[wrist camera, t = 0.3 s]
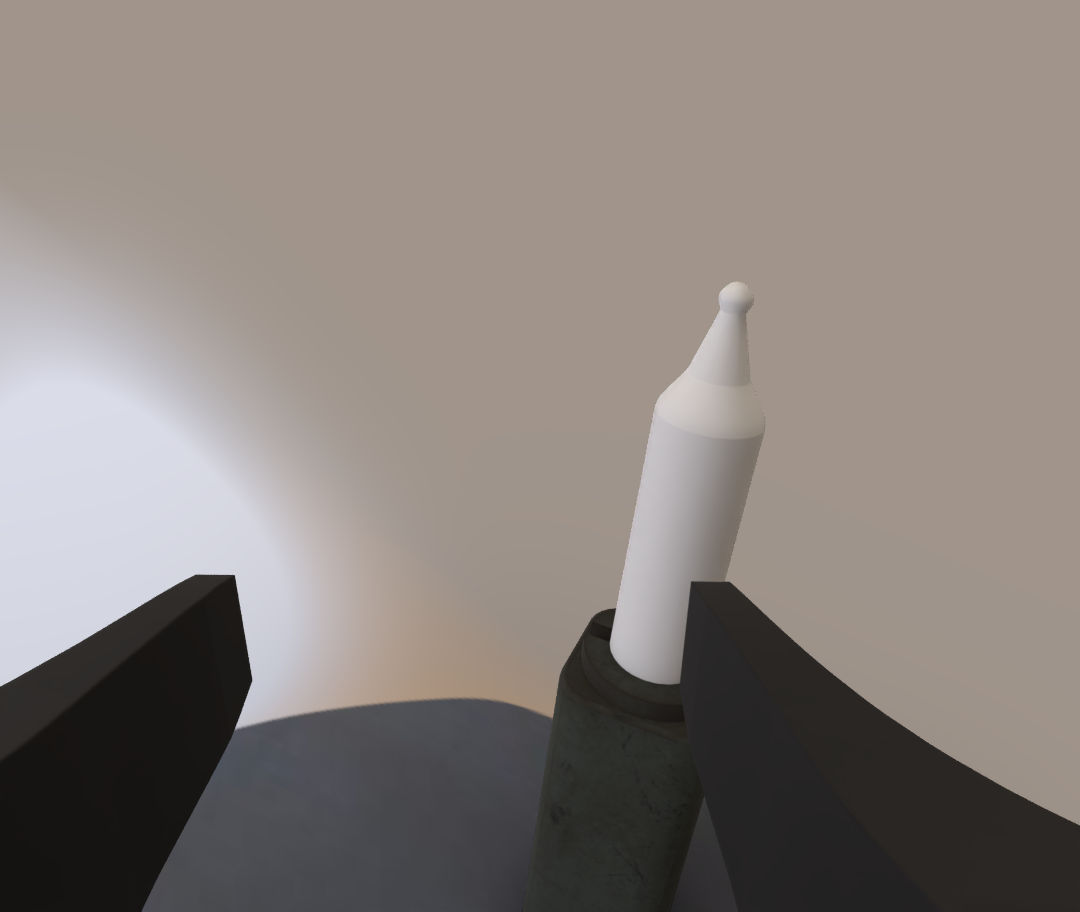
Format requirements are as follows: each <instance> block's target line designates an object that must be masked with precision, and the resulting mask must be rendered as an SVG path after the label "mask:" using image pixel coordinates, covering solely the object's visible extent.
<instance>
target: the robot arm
mask: <svg viewBox="0 0 1080 912" xmlns="http://www.w3.org/2000/svg"><path fill="white" fill-rule="evenodd" d="M251 683H252V675H251V669H250V663H249V657H248V651H247V645H246V639H245V634H244V628H243V621H242V615H241V610H240V604H239V598H238V592H237V587H236V580H235V575H194V576H192V577H190V578H188V579H186V580H184V581H183V582H181V583H179V584H177V585H175V586H173V587H172V588H170V589H168V590H167V591H165V592H163V593H161V594H160V595H158V596H156V597H155V598H153V599H151V600H150V601H148V602H146V603H145V604H143V605H141V606H140V607H138V608H136V609H135V610H133V611H131V612H130V613H128V614H126V615H125V616H123V617H122V618H120V619H118V620H117V621H115V622H113V623H112V624H110V625H108V626H107V627H105V628H103V629H102V630H100V631H98V632H97V633H95V634H93V635H92V636H90V637H88V638H87V639H85V640H83V641H82V642H80V643H78V644H76V645H75V646H73V647H71V648H70V649H68V650H66V651H64V652H62V653H61V654H59V655H57V656H55V657H53V658H51V659H50V660H48V661H46V662H44V663H42V664H41V665H39V666H37V667H35V668H34V669H32V670H30V671H28V672H26V673H24V674H23V675H21V676H19V677H18V678H16V679H14V680H12V681H10V682H8V683H6V684H4V685H3V686H1V687H0V912H141V911H142V909H143V907H144V905H145V903H146V900H147V898H148V896H149V894H150V892H151V890H152V888H153V886H154V884H155V882H156V880H157V878H158V876H159V874H160V872H161V870H162V868H163V866H164V864H165V862H166V861H167V859H168V857H169V855H170V853H171V851H172V849H173V847H174V846H175V844H176V842H177V840H178V838H179V836H180V834H181V832H182V831H183V829H184V827H185V825H186V823H187V821H188V819H189V818H190V816H191V814H192V812H193V810H194V808H195V806H196V804H197V803H198V801H199V799H200V797H201V795H202V793H203V791H204V790H205V788H206V786H207V784H208V782H209V780H210V778H211V776H212V774H213V772H214V771H215V769H216V767H217V765H218V763H219V761H220V759H221V757H222V755H223V753H224V751H225V749H226V747H227V745H228V743H229V741H230V739H231V737H232V735H233V732H234V730H235V727H236V724H237V722H238V719H239V716H240V714H241V711H242V708H243V706H244V702H245V700H246V697H247V694H248V691H249V688H250V685H251ZM679 686H680V692H681V699H682V705H683V711H684V717H685V723H686V729H687V734H688V740H689V745H690V748H691V752H692V755H693V759H694V762H695V765H696V769H697V772H698V776H699V779H700V782H701V786H702V789H703V792H704V796H705V799H706V802H707V805H708V809H709V812H710V815H711V819H712V822H713V825H714V828H715V832H716V835H717V838H718V842H719V845H720V848H721V851H722V855H723V858H724V861H725V865H726V868H727V871H728V874H729V878H730V881H731V885H732V889H733V893H734V897H735V900H736V904H737V908H738V912H1080V825H1078V824H1076V823H1073V822H1071V821H1069V820H1067V819H1065V818H1063V817H1061V816H1059V815H1057V814H1055V813H1053V812H1051V811H1048V810H1047V809H1044V808H1042V807H1041V806H1038V805H1037V804H1035V803H1033V802H1031V801H1029V800H1027V799H1025V798H1023V797H1021V796H1019V795H1018V794H1015V793H1013V792H1012V791H1010V790H1008V789H1006V788H1004V787H1002V786H1001V785H999V784H997V783H995V782H994V781H992V780H990V779H988V778H987V777H985V776H983V775H981V774H980V773H978V772H976V771H974V770H973V769H971V768H969V767H967V766H966V765H964V764H962V763H960V762H959V761H956V760H955V759H953V758H952V757H950V756H948V755H947V754H945V753H944V752H942V751H940V750H939V749H937V748H935V747H934V746H932V745H930V744H929V743H927V742H926V741H924V740H923V739H921V738H920V737H919V736H917V735H916V734H914V733H913V732H911V731H910V730H908V729H907V728H905V727H903V726H902V725H901V724H899V723H897V722H896V721H895V720H893V719H891V718H890V717H889V716H887V715H886V714H884V713H883V712H882V711H880V710H879V709H877V708H876V707H874V706H873V705H872V704H870V703H869V702H868V701H866V700H865V699H864V698H862V697H861V696H860V695H859V694H857V693H856V692H855V691H854V690H852V689H851V688H850V687H848V686H847V685H846V684H845V683H843V682H842V681H841V680H839V679H838V678H837V677H836V676H834V675H833V674H832V673H831V672H829V671H828V670H827V669H826V668H824V667H823V666H822V665H821V664H820V663H818V662H817V661H816V660H815V659H814V658H813V657H812V656H810V655H809V654H808V653H807V652H806V651H804V650H803V649H802V648H801V647H800V646H799V645H798V644H797V643H795V642H794V641H793V640H792V639H791V638H790V637H789V636H788V635H787V634H785V633H784V632H783V631H782V630H781V629H780V628H779V627H778V626H777V625H776V624H775V623H774V622H772V621H771V620H770V619H769V618H768V617H767V616H766V615H765V614H764V613H763V612H762V611H761V610H760V609H758V607H756V606H755V605H754V604H753V603H752V602H751V601H750V600H749V599H748V598H747V597H746V596H745V595H744V594H743V593H742V592H740V591H739V590H738V589H737V588H736V587H735V586H734V585H733V584H732V583H730V582H704V581H691V586H690V595H689V604H688V613H687V622H686V631H685V640H684V649H683V658H682V667H681V676H680V685H679Z"/></svg>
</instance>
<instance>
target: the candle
mask: <svg viewBox="0 0 1080 912" xmlns="http://www.w3.org/2000/svg"><path fill="white" fill-rule="evenodd" d="M753 302H754V298H753V294H752V292H751V291H750V288H749V287H748V286H747V285H746V284H744V283H741V282H733V283H731V284H729V285H728V286H726V287H725V288H724V289H723V290H722V291H721V292H720V294H719V304H720V309H721V310H720V312H719V313H718V316H717V317H716V319H715V321H714V322H713V324H712V326H711V328H710V330H709V332H708V333H707V335H706V337H705V339H704V341H703V342H702V344H701V346H700V348H699V350H698V351H697V353H696V355H695V357H694V359H693V360H692V362H691V364H690V366H689V368H688V369H687V370H686V371H685V372H684V373H683V374H682V375H681V376H680V377H679V378H678V379H677V380H675V381H674V382H673V383H672V384H671V385H670V386H669V387H668V388H667V389H666V390H665V391H664V392H663V393H662V394H661V395H660V397H659V399H658V401H657V403H656V406H655V409H654V415H653V420H652V425H651V430H650V435H649V441H648V446H647V451H646V456H645V461H644V467H643V473H642V477H641V482H640V488H639V493H638V498H637V503H636V508H635V514H634V519H633V524H632V530H631V535H630V540H629V545H628V550H627V555H626V561H625V566H624V572H623V576H622V582H621V587H620V592H619V598H618V603H617V608H615V609H608V610H604V611H601V612H599V613H597V614H596V615H595V616H594V617H593V618H592V619H591V620H590V622H589V624H588V626H587V627H586V629H585V631H584V632H583V634H582V636H581V637H580V639H579V641H578V643H577V644H576V646H575V648H574V649H573V651H572V653H571V655H570V656H569V658H568V660H567V662H566V663H565V665H564V667H563V668H562V671H561V674H560V678H559V684H558V690H557V696H556V703H555V709H554V716H553V722H552V728H551V735H550V741H549V747H548V754H547V760H546V766H545V773H544V779H543V785H542V792H541V798H540V804H539V811H538V817H537V823H536V830H535V836H534V842H533V849H532V855H531V862H530V868H529V874H528V881H527V887H526V893H525V900H524V906H523V912H670V909H671V906H672V903H673V899H674V896H675V892H676V889H677V886H678V882H679V879H680V876H681V872H682V869H683V865H684V862H685V859H686V855H687V852H688V849H689V845H690V842H691V838H692V835H693V832H694V828H695V825H696V822H697V818H698V815H699V811H700V808H701V805H702V801H703V798H704V792H703V789H702V786H701V782H700V779H699V776H698V772H697V769H696V765H695V762H694V759H693V755H692V752H691V748H690V745H689V740H688V734H687V729H686V723H685V717H684V711H683V705H682V699H681V692H680V686H679V685H680V676H681V667H682V658H683V649H684V640H685V631H686V622H687V613H688V604H689V595H690V586H691V581H704V582H725V578H726V574H727V571H728V567H729V563H730V559H731V556H732V552H733V548H734V544H735V541H736V536H737V533H738V529H739V525H740V522H741V518H742V514H743V510H744V507H745V503H746V499H747V495H748V492H749V487H750V484H751V480H752V476H753V472H754V469H755V465H756V461H757V457H758V454H759V450H760V446H761V443H762V439H763V435H764V431H765V416H764V413H763V410H762V408H761V405H760V402H759V400H758V398H757V395H756V393H755V390H754V388H753V386H752V383H751V381H750V369H749V355H748V339H747V325H746V313H747V312H748V310H749V309H750V308H751V306H752V305H753Z"/></svg>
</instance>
